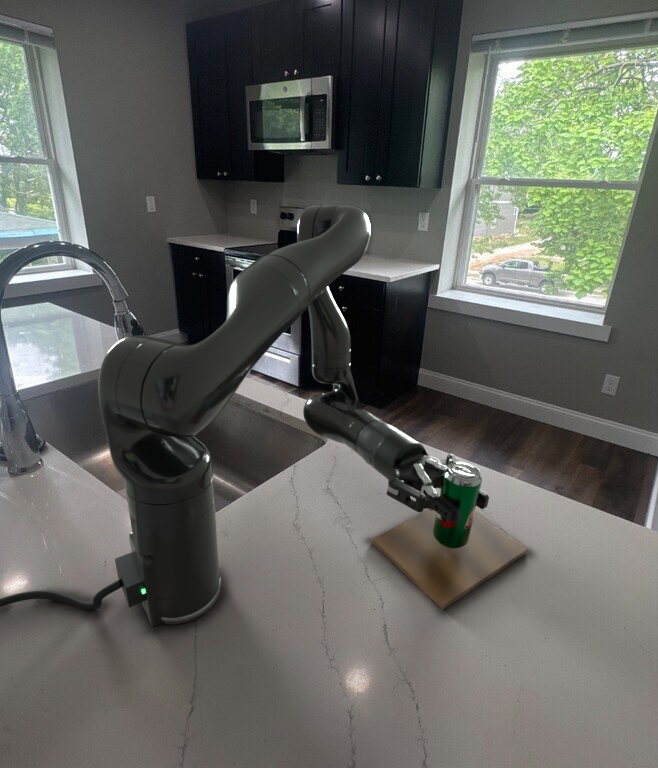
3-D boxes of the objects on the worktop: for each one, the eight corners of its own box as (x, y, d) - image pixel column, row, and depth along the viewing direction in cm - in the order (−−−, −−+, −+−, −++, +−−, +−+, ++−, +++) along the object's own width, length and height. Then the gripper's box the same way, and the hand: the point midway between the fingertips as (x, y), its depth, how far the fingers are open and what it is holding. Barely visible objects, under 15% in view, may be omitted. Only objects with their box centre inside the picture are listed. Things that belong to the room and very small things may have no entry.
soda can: (468, 554, 65) (484, 483, 60) (432, 547, 66) (445, 477, 61) (466, 529, 70) (481, 462, 65) (432, 523, 71) (444, 456, 66)
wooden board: (442, 610, 58) (443, 605, 58) (371, 542, 69) (371, 538, 68) (526, 553, 68) (527, 549, 68) (453, 501, 79) (454, 498, 78)
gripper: (356, 443, 70) (441, 506, 58) (424, 420, 78) (511, 471, 66) (353, 484, 73) (432, 552, 61) (418, 458, 81) (500, 513, 69)
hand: (472, 509), depth 63 cm, fingers closed on soda can, 5 cm apart
